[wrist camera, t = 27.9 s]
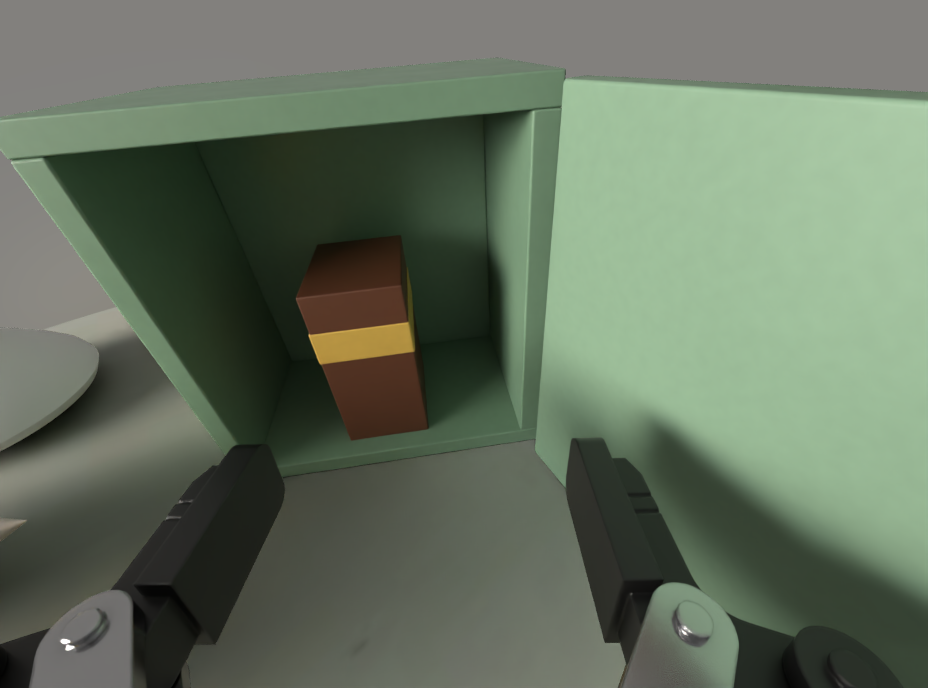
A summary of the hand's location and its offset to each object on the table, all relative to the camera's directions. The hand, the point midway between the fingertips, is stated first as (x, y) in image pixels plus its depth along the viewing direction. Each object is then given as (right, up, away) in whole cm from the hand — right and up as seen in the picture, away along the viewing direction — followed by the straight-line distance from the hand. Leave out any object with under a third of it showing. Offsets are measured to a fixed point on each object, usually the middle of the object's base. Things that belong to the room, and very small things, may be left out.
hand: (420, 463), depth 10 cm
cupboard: (-3, 0, +13) cm, 13 cm away
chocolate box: (-3, 0, +11) cm, 12 cm away
